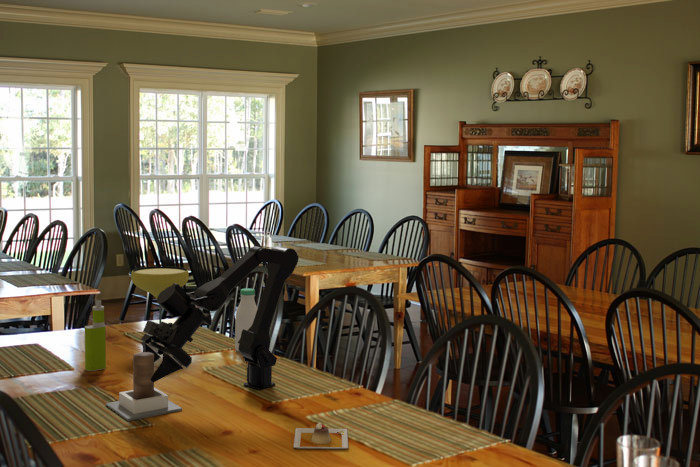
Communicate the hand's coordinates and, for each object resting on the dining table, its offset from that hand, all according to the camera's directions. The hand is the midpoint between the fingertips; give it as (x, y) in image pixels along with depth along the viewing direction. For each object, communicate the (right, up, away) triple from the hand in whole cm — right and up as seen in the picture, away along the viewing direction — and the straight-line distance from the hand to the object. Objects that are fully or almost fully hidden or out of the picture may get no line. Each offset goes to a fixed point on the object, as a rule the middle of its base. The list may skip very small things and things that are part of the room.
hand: (143, 376), depth 199 cm
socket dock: (0, -8, +1) cm, 8 cm away
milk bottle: (+18, -2, +60) cm, 62 cm away
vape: (-23, -4, +35) cm, 42 cm away
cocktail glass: (-11, -1, +63) cm, 64 cm away
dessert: (+45, -12, -18) cm, 50 cm away
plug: (0, -7, +1) cm, 7 cm away
